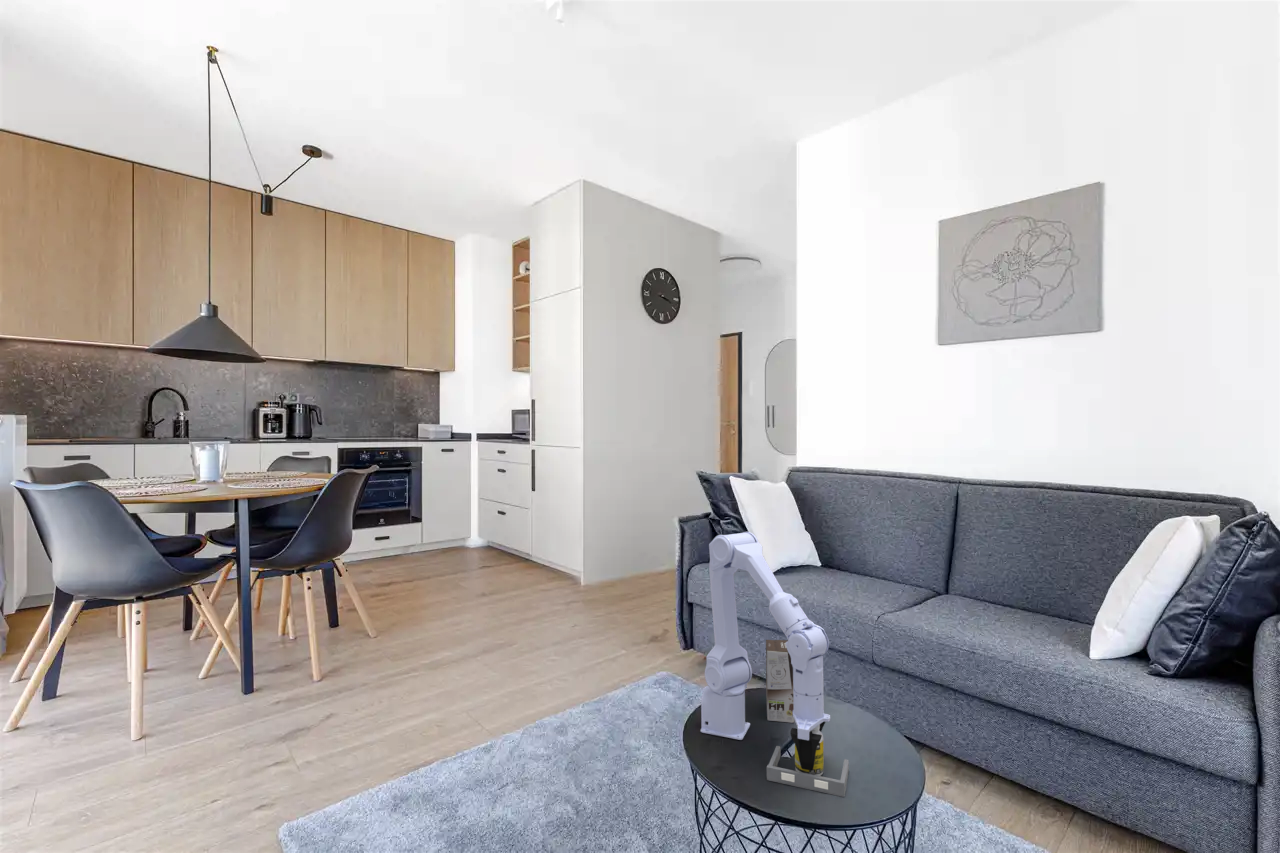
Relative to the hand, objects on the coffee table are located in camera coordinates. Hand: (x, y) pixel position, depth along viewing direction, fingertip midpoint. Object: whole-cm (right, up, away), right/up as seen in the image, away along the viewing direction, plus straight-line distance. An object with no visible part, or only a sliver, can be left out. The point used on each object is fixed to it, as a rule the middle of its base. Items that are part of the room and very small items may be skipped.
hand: (809, 761), depth 115 cm
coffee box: (0, -3, +25) cm, 26 cm away
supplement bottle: (0, -2, 0) cm, 2 cm away
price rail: (-1, -2, -2) cm, 2 cm away
